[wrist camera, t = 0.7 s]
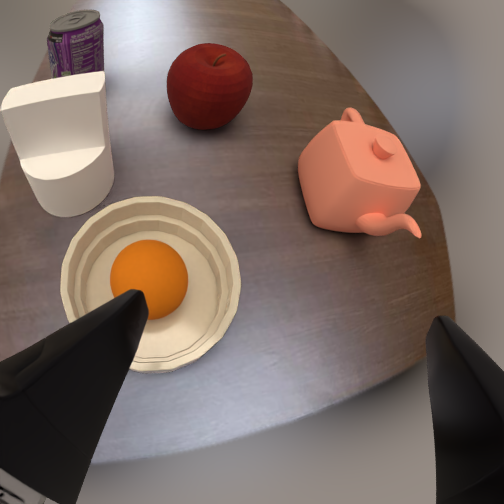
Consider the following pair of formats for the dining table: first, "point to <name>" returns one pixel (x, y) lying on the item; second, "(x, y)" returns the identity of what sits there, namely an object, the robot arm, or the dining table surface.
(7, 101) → the cylinder with rectangular tab
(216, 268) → the bowl
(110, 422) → the dining table surface
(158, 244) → the orange
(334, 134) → the teapot
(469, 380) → the robot arm
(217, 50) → the apple
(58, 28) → the beverage can
